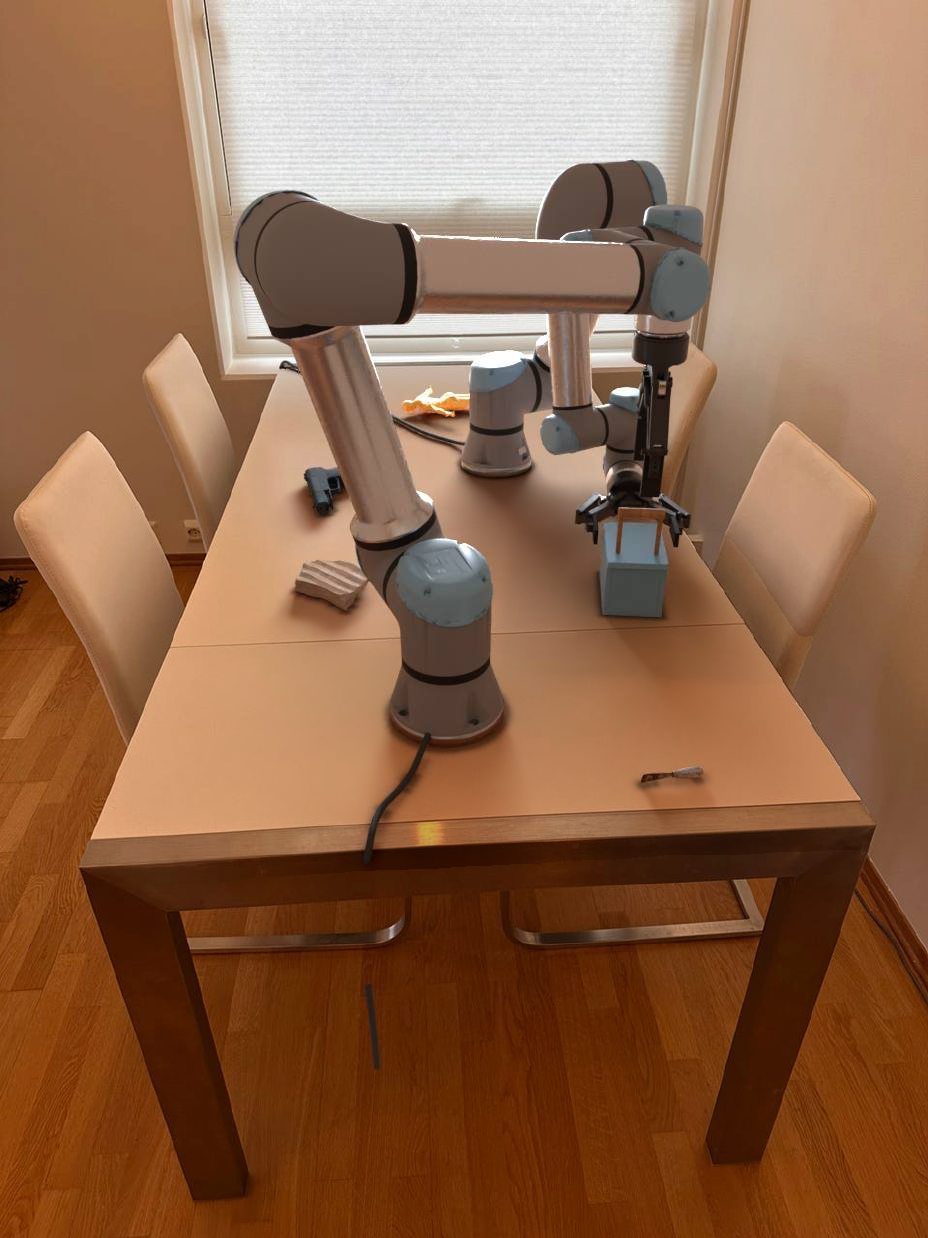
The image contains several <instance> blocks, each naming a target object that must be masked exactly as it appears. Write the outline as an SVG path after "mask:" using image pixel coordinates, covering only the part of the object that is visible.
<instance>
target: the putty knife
mask: <svg viewBox="0 0 928 1238" xmlns="http://www.w3.org/2000/svg"><path fill="white" fill-rule="evenodd" d="M704 772H705V771H704V768H702V767H701V766H697V765H695V766H688V767H683V768H679V769H675V770H673V771H671V772H653V773H652V772H651V773H650V772H649V773H644V774H642V776H641V779H640V783H642V784H645V783H648V782H653V781H659V780H665V779H668V778H673V779H674V778H675V779H693V778H694V779H695V778H700V777H702V776H703V775H704Z"/></svg>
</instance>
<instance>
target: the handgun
mask: <svg viewBox="0 0 928 1238" xmlns="http://www.w3.org/2000/svg"><path fill="white" fill-rule="evenodd" d="M303 480H304V481H305V482H306V483H307V487H308V490H309V494H310V496H311V499H312V502H313V505H311V508H312V509H313V510H314V509H315V512H316V513H317V514H318V515H328V514H329V513H330V509H331V510H332V511H334V510H335V509H334V507H335V506H334V499H333V496H338V495H340V494H341V489H342V488H346V487H345V485H344V482H343V480H342V477H341V475H340V472H339V469H338V467H337V466H336V467H335V466H334V467H331V468H324V467H322V466H315V467H314V466H313V467H308V468H307V469H305V471H304V473H303Z"/></svg>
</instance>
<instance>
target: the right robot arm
mask: <svg viewBox="0 0 928 1238" xmlns="http://www.w3.org/2000/svg"><path fill="white" fill-rule="evenodd" d="M656 205H668V191H667V186H666V181H665V178H664V176H663V174H662V172H661V170H660V169H659V168H658V167H657V165H655V164H654V163H653V162H650V161H648V160H635V159H632V158H630V159H627V160H624V161H621V160H620V161H606V162H605V161H604V162H602V161H601V162H580V163H576V164H573V165H571V166H569V167H567V168H566V169H564V170H563V171H562V172H560V173H559V174H558V175H557V176H556V177H555V178H554V180H553V181H551V184H550V186H549V187H548V189H547V190H546V193H545V194H544V196H543V199H542V201H541V204H540V207H539V212H538V215H537V219H536V227H535V240H550V241H560V240H561V238H562V237H563V236H564V235H566V234H567V233H570V232H577V231H583V230H586V229H589V230H593V229H610V228H626V227H636V226H640V225H643V220H644V217H645V212H646V210H647V209H648V208H649V207H652V206H656ZM545 315H546V316H545V317H546V331H547V334H546V335H544V336H541V337H539V339H538V340H537V341H536V344H535V346H534V350H533V353H532V354H531V355H528V356H525V355H524V354H523V353H522V352H519V351H515V350H505V351H502V350H499V351H493V352H489V353H486V354H482V355H481V356H479V357H477V358H476V359H475V360H474V361H473V362H472V364H471V365H470V368H469V376H468V377H469V378H468V384H467V385H468V391H469V392H468V394H469V407H468V409H469V410H468V411H469V419H468V421H469V430H468V433H467V437H466V439H465V441H461V440H457V439H452V438H449V437H445V436H441V435H439V434H435V433H433V432H430V431H427V430H425V429H422V428H420V427H417V426H416V425H414V424H412V423H410V422H408V421H405V420H404V419H402V418H399V417H398V416H396V415H394V414H393V413H391V416H392V419H393V421H396V422H398V423H400V424H401V425H402V426H405V427H407V428H409V429H411V430H413V431H415V432H417V433H419V434H422V435H424V436H427V437H429V438H433V439H435V440H438V441H442V442H446V443H449V444H453V445H458V446H462V447H463V448H462V451H461V454H460V466H461V467H462V468H463V470H465V471H466V472H468V473H470V474H473V475H476V476H480V477H487V478H507V477H513V476H518V475H520V474H522V473H525V472H527V471H528V470H529V469H530V468H531V465H532V454H531V450H530V447H529V444H528V441H527V437H526V434H525V430H524V428H525V427H524V426H525V425H524V424H525V415H528V414H532V413H538V412H544V411H550V410H551V411H552V414H550V415H548V416H546V417H545V418H544V419H543V420H542V421H541V427H540V430H539V431H540V432H539V433H540V434H539V435H540V440H541V443H542V445H543V447H544V449H545V450H546V451H547V453H549V454H550V455H553V456H561V455H566V454H567V455H568V454H575V453H578V452H583V451H586V450H590V449H594V448H599V447H604V446H605V452H604V455H603V459H602V461H603V463H602V469H603V473H604V478H605V485H606V493H607V495H606V496H602V495H601V494H600V493H599V492H598V491H593V492H591V493H592V494H591V496H590V497H589V499H587V500H586V501H585V502H584V503H582V504H581V505H580V506H579V507H578V508H577V509H576V510H575V514H574V515H575V516H574V524H575V525H577V526H579V525H582V524H584V530H585V532H586V533H591V536H592V545H593V546H598V545H599V534H600V533H599V532H600V529H599V528H600V527H599V523H600V522H603V521H604V520H607V519H608V518H610V517H612V518H616V517H618V508H619V507H623V508H652V509H665V518H664V520H663V523H662V525H665V526H667V527H669V530H668V531H669V535H670V538H671V543H672V546H673V547H672V548H679V543H680V536H683V533H684V529H690V527H691V522H692V521H691V520H692V514H691V513H690V512H689V511H687V510H686V509H684V508H683V507H682V506H680V505H678V504H677V503H676V502H674V501H673V500H671V499H670V498H669V495H667V494H665V493H660V498H653V497H640V489H641V480H642V470H643V461H634V460H633V456H634V446H635V436H636V426H637V418H641V417H638V414H637V411H638V408H637V403H638V398H639V392H640V388H635V387H619V388H616V389H614V390H612V391H611V392H610V395H609V399H608V403H606V404H600V405H597V406H594V403H593V383H592V382H593V376H592V374H593V366H592V358H591V339H592V337H593V334H594V332H595V329H596V327H597V324H598V322H599V319H600V317H601V315H602V314H545ZM279 365H280V366H284V365H288V366H289V367H291V368H292V369H296V370H298V371H300V370H299V368H298V365H297V364H294V363H292V362H291V361H289V360H286V359H285V360H282V361H280V364H279ZM653 520H654V521H656V522H657V521H658V519H653Z"/></svg>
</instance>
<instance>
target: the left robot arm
mask: <svg viewBox="0 0 928 1238" xmlns="http://www.w3.org/2000/svg"><path fill="white" fill-rule="evenodd" d="M704 217H705V216H704V213H703V211H702V210H701V209H700V208H698V207H696V206H692V205H686V204H667V205H656V206H652V207H649V208H648V209H647V210H646V212H645V217H644V220H643V225H640V226H636V227H626V228H610V229H593V230H589V229H586V230H583V231H577V232H570V233H567V234H566V235H564V236H563V237H562V238H561V240H560V241H550V240H536V239H522V238H501V237H500V238H499V237H498V238H497V237H495V238H494V237H474V236H473V237H472V236H471V237H470V236H449V235H448V236H447V235H445V236H443V235H442V236H441V235H423V234H420V235H419V234H416V232H415V231H414V230H413V229H412V227H411V226H410V225H408V223H402V222H385V221H378V220H373V219H369V218H364V217H360V216H357V215H354V214H352V213H349V212H345V211H343V210H340V209H338V208H336V207H333V206H332V205H328V204H327V203H324V202H322V201H320V200H319V199H317V198H316V197H315V196H313V195H311V194H309V193H307V192H304V191H302V190H295V189H289V190H288V189H285V190H273V191H269V192H266V193H265V194H262V195H261V196H260V195H259V197H257V198H255V199H254V200H253V201H252V202H251V203H250V204H248V205H247V206H246V208H245V209H244V210H243V211H242V213H241V215H240V216H239V219H238V221H237V223H236V226H235V231H234V235H233V251H234V258H235V263H236V265H237V268H238V270H239V273H240V275H241V276H242V277H243V278H244V280H245V282H247V284H248V285H249V286H251V289H252V291H253V293H254V295H255V298H256V300H257V303H258V305H259V309H260V310H261V313H262V316H263V318H264V320H265V322H266V325H267V327H268V330H269V332H270V335H271V337H272V339H274V340H275V341H277V342H279V343H282V344H283V345H287V346H288V347H289V348H290V350H291V352H292V355H293V358H294V360H295V362H296V366H298V368H299V370H298V371H299V372H300V376H301V378H302V380H303V383H304V385H305V388H306V391H307V393H308V396H309V398H310V401H311V403H312V405H313V408H314V412H315V413H316V415H317V419H318V421H319V423H320V427H321V429H322V431H323V434H324V436H325V439H326V441H327V444H328V446H329V449H330V451H331V454H332V457H333V460H334V462H335V464H336V467H338V469H339V472H340V475H341V477H342V480H343V482H344V485H345V487H344V488H345V490H346V492H347V495H348V497H349V500H350V503H351V505H352V507H353V510H354V512H355V514H354V515H353V516H352V518H351V520H350V523H349V530H350V533H351V536H352V539H353V541H354V547H355V555H356V560H357V563H359V566H360V568H361V570H362V572H363V573H364V575H365V576H366V578H367V579H368V580H369V582H370V583H371V585H372V586H373V587H374V589H375V590H376V593H378V595H379V596H380V598H381V599H382V600H383V602H384V603H385V605H386V606H387V608H388V609H389V610H390V612H391V614H392V615H393V616H394V618H395V619H396V621H397V624H398V627H399V633H400V634H399V635H400V652H401V653H400V655H401V667H400V669H399V672H398V675H397V678H396V681H395V684H394V687H393V690H392V693H391V696H390V703H389V706H390V718H391V721H392V724H393V725H394V727H395V728H396V729H397V731H398V732H399V733H400V734H402V735H403V736H404V737H406V738H407V739H409V740H411V741H413V742H415V743H417V744H419V747H418V748H417V751H416V753H415V756H414V758H413V762H412V764H411V766H410V768H409V769H408V771H407V772H406V774H405V776H404V777H403V778H402V779H401V781H400V782H399V784H398V785H397V786H396V787H395V788H394V789H393V790H392V791H391V792H390V793H389V794H388V795H387V796H386V797H385V798H384V799H383V800H382V801H381V802H380V803H379V805H378V806H377V808H376V810H375V812H374V814H373V816H372V818H371V820H370V823H369V826H368V832H367V836H366V841H365V846H364V847H365V849H364V852H363V859H362V863H364V864H365V865H367V864H370V862H372V855H373V849H374V845H375V838H376V833H377V829H378V827H379V823H380V820H381V818H382V816H383V815H384V813H385V811H386V809H387V808H388V807H389V806H390V804H391V803H392V802H394V801H395V800H396V799H397V797H399V796H400V795H401V794H402V792H403V791H404V790H405V789H406V787H407V786H408V785H409V784H410V782H411V781H412V779H413V778H414V776H415V774H416V773H417V771H418V769H419V767H420V765H421V762H422V760H423V757H424V754H425V752H426V749H427V747H428V746H430V747H437V748H454V747H455V748H457V747H463V746H467V745H471V744H473V743H476V742H480V741H481V740H483V739H485V738H486V737H488V736H489V735H491V734H492V733H493V732H494V731H495V730H496V729H498V727H499V726H500V724H501V722H502V720H503V717H504V696H503V693H502V690H501V687H500V685H499V682H498V679H497V677H496V674H495V672H494V668H493V666H492V664H491V654H492V653H491V651H492V649H491V648H492V647H491V645H492V608H493V607H492V605H493V595H494V585H493V582H492V573H491V568H490V565H489V563H488V561H487V559H486V557H485V556H484V555H483V554H482V553H481V552H480V551H479V550H478V549H476V548H475V547H473V546H472V545H469V544H467V543H462V544H461V543H459V541H458V540H454V539H449V538H446V536H445V535H444V532H443V529H442V526H441V523H440V520H439V518H438V515H437V511H436V508H435V505H434V502H433V500H432V498H431V497H430V496H429V495H428V494H425V493H423V492H421V491H417V488H416V484H415V482H414V478H413V476H412V473H411V470H410V467H409V464H408V460H407V458H406V454H405V451H404V448H403V446H402V442H401V440H400V437H399V434H398V432H397V428H396V426H395V422H394V419H392V416H391V414H392V413H391V409H390V408H389V404H388V402H387V399H386V395H385V393H384V390H383V387H382V384H381V381H380V378H379V375H378V372H377V369H376V366H375V363H374V360H373V358H372V354H371V351H370V348H369V345H368V342H367V339H366V335H365V334H364V331H363V327H362V326H386V325H387V326H389V325H390V326H396V325H397V326H404V325H408V324H409V323H411V321H412V320H413V319H414V318H415V317H416V315H546V314H601V315H627V316H629V315H632V316H634V320H633V321H634V322H633V327H634V328H635V332H633V335H632V345H631V346H632V347H631V358H632V360H633V361H634V362H636V363H638V364H640V365H643V367H642V370H641V374H640V386H639V389H640V392H639V398H638V403H637V408H638V411H637V414H638V417H641V418H637V426H636V436H635V446H634V456H633V460H634V461H643V470H642V480H641V489H640V497H652V498H660V495H661V489H662V480H663V473H664V466H665V465H664V464H665V457H667V455H668V454H669V449H668V447H669V430H670V429H669V428H670V413H671V396H672V388H673V385H674V384H673V383H674V382H673V381H674V378H673V376H671V375H672V374H671V373H672V372H671V370H670V368H672V367H674V366H680V365H682V364H684V363H685V362H686V361H687V359H688V355H689V346H690V339H691V336H690V335H689V333H688V331H690V330H691V327H692V318H693V317H694V316H696V315H697V314H698V313H699V312H700V311H701V309H703V307H704V305H705V304H706V302H707V300H708V298H709V294H710V290H711V285H712V274H711V269H710V266H709V265H708V263H707V261H706V260H705V259H704V258H703V257H702V256H701V255H702V248H703V247H704V243H703V239H704V237H703V236H704V220H705V218H704ZM669 370H670V371H669ZM364 991H365V1000H366V1008H367V1018H368V1026H369V1033H370V1043H371V1052H372V1065H373V1069H374V1070H379V1069H380V1068H381V1059H380V1046H379V1036H378V1028H377V1027H378V1026H377V1019H376V1010H375V1009H376V1008H375V1001H374V992H373V983H367V984H365V985H364Z"/></svg>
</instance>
